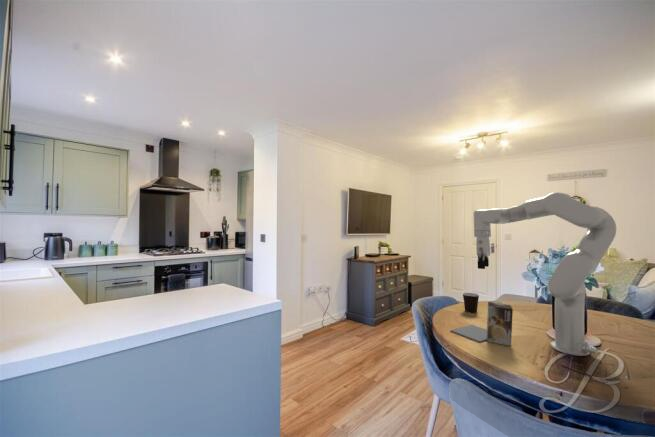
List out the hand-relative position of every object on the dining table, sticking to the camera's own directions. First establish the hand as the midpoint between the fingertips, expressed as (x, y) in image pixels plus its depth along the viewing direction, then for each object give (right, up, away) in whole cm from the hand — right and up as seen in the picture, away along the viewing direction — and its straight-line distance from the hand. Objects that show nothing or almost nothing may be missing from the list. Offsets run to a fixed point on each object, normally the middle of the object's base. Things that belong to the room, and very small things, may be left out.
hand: (483, 267), depth 151 cm
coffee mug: (+4, -30, +23) cm, 38 cm away
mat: (-9, -30, -10) cm, 33 cm away
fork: (+11, -30, -49) cm, 58 cm away
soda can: (+6, -30, -1) cm, 31 cm away
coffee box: (-4, -29, -20) cm, 36 cm away
